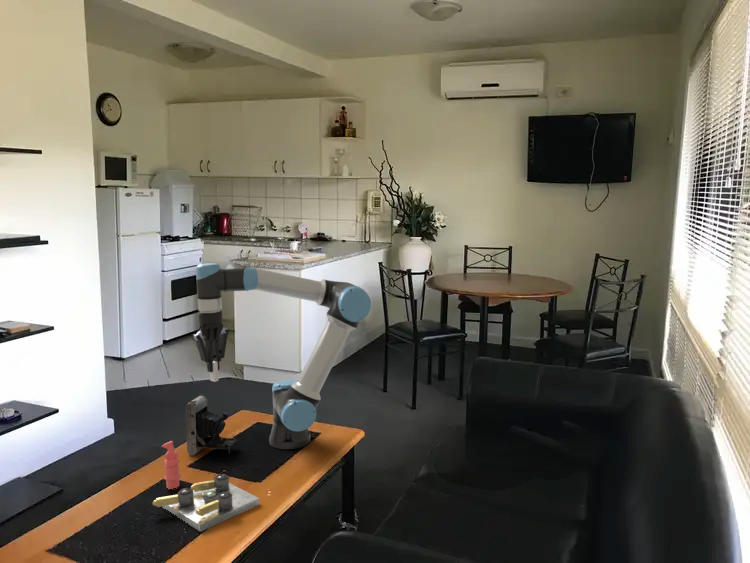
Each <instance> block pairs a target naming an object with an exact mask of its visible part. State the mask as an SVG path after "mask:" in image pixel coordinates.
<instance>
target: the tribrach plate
mask: <svg viewBox="0 0 750 563" xmlns="http://www.w3.org/2000/svg"><path fill="white" fill-rule="evenodd" d="M221 492H229V493H231V494H232V508H230V509H228V510H218V509H217V510H215V511H213V512H210V513H208V514H206V515H203V516H200V515H197V514H196V511H197V510H198V509H199V507H201V506H203V505H206V504H208V503H210V502H213V501H215V500H216V496H217V495H218V494H219V493H221ZM193 495H194V503H193V504H191V505H189V506H179V505H178V504H172V505H167V506H162V509H164V510H165V509H166V511H167V510H168V511H169V512H168V511H167V512H168V513H170V512H171V513H172V515H173V514H174V515H173V516H175V515H176V516H177V517H176V516H175V517H176V518H178V519H179V518H180V519H179V520H181V519H182V520H183V522H184V521H185V522H184V523H185V524H187V523H188V524H187V525H189V526H190V527H192V528H193V529H195V530H197V531H198V532H204V531H205V530H208V529H210V528H211V527H214V526H216V525H218V524H220V523H222V522H225V521H227V520H229V519H231V518H234V517H235V516H237V515H240V514H242V513H244V512H247V511H249V510H250V509H251V510H252V509H253V508H256V507H257V506H259V505H260V497H258V496H256V495H254V494H252V493H249V492H248V491H246V490H244V489H242V488H240V487H238V486H236V485H234V484H232V483H230V482H229V488H228V489H227V490H225V491H215V490H214V489H209V490H203V491H197V492H195V491H193ZM171 513H170V514H171ZM182 520H181V521H182Z"/></svg>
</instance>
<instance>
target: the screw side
mask: <svg viewBox="0 0 750 563" xmlns="http://www.w3.org/2000/svg"><path fill="white" fill-rule="evenodd" d="M230 508H232V494H231V493H229V492H221V493H219V494H218V495H217V496H216V500H215V501H213V502H210V503H208V504H206V505H203V506H201V507H199V509H198V510H197V511H196V514H197V515H200V516H203V515H206V514H208V513H210V512H213V511H215V510H217V509H218V510H228V509H230Z"/></svg>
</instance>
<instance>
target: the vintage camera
mask: <svg viewBox="0 0 750 563" xmlns="http://www.w3.org/2000/svg"><path fill="white" fill-rule="evenodd" d="M185 411H186V412H185V416H186V417H185V420H186V421H185V423H186V426H185V427H186V430H185V431H186V452H187V454H188V455H189V456H191V457H192V456H196V454H197V453H199V451H201V450H202V449H220V450H228V454H230V453H231V449H230V448H231V447H232V446H233V445H234V444H235V443H237V441H238V439H236V438H232V437H226V436H225V437H222V436H220V434H222V433H223V432H224V430H225V427H226V422H225V421H226V420H228V419H229V416H230V413H228V412H226V411H224V412H223V413H222V416H220V415H219V414H217V413H213V412H210V411H208V398H207V396H206V395H204V394H199V396H197V397H196V398H194V399H193V400H190V401H189V402H188V403H187V404H186V406H185Z"/></svg>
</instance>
